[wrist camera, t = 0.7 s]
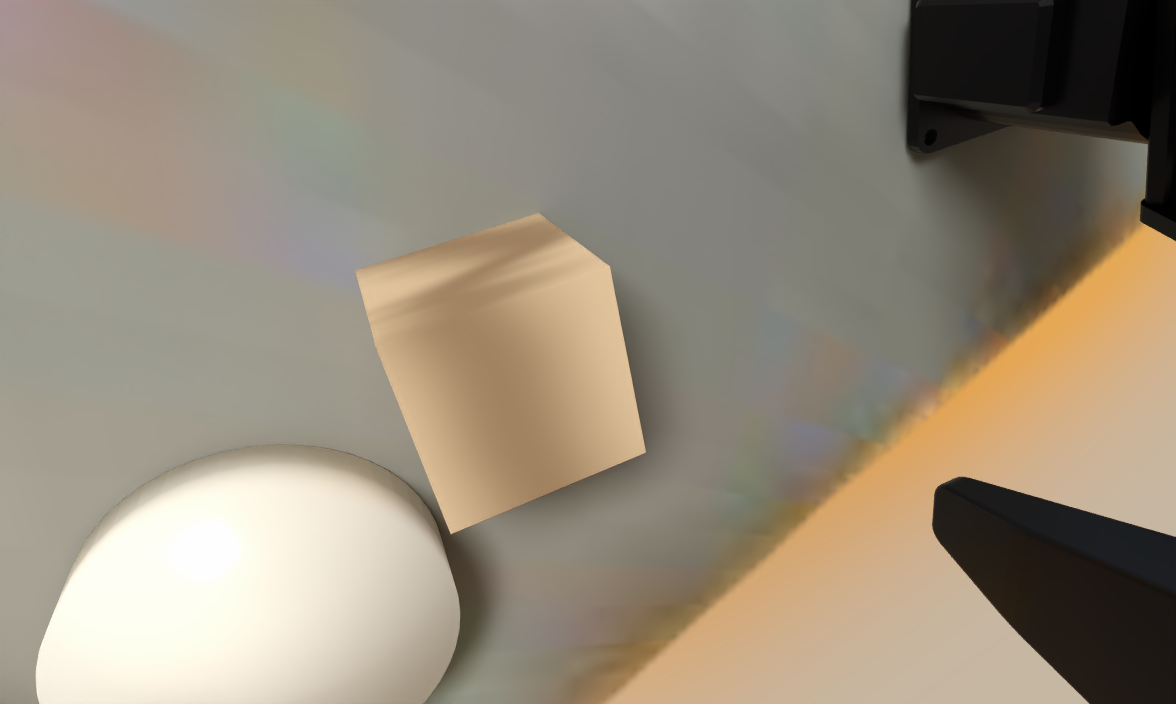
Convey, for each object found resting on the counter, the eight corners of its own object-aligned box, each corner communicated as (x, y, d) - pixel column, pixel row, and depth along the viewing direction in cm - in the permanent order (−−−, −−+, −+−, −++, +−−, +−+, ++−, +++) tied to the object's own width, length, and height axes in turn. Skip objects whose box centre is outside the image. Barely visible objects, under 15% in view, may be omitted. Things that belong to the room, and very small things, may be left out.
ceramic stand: (383, 392, 19) (394, 438, 17) (480, 630, 24) (498, 689, 22) (-23, 538, 17) (-69, 611, 15) (176, 769, 22) (164, 849, 19)
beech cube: (537, 212, 19) (609, 266, 14) (575, 367, 21) (645, 452, 17) (355, 269, 18) (375, 346, 13) (417, 426, 20) (450, 534, 16)
